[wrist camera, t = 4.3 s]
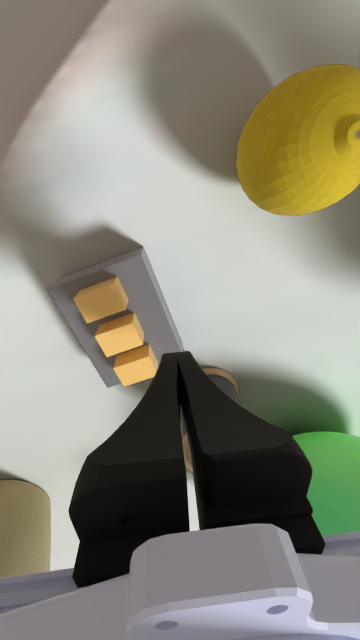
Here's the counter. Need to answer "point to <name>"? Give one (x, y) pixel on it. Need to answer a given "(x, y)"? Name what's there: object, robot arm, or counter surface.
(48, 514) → the plant pot
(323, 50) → the counter surface
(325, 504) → the green toy teapot
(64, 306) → the breaker strip
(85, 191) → the counter surface
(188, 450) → the cord spool
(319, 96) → the lemon
